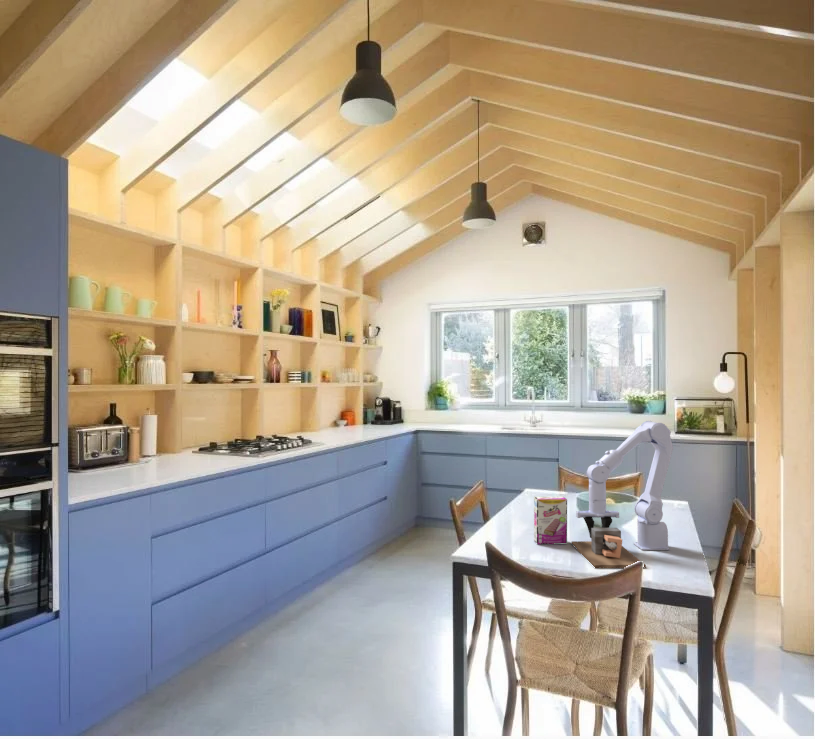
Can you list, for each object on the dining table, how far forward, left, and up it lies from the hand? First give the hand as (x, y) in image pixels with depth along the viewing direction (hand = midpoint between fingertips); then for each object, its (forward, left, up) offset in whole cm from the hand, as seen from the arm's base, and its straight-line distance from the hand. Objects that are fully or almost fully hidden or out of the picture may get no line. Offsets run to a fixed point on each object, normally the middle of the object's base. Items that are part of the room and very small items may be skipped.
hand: (597, 538), depth 202 cm
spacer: (+2, +13, +1) cm, 13 cm away
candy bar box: (+15, -6, -4) cm, 17 cm away
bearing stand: (0, +8, -3) cm, 9 cm away
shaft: (0, +7, 0) cm, 7 cm away
